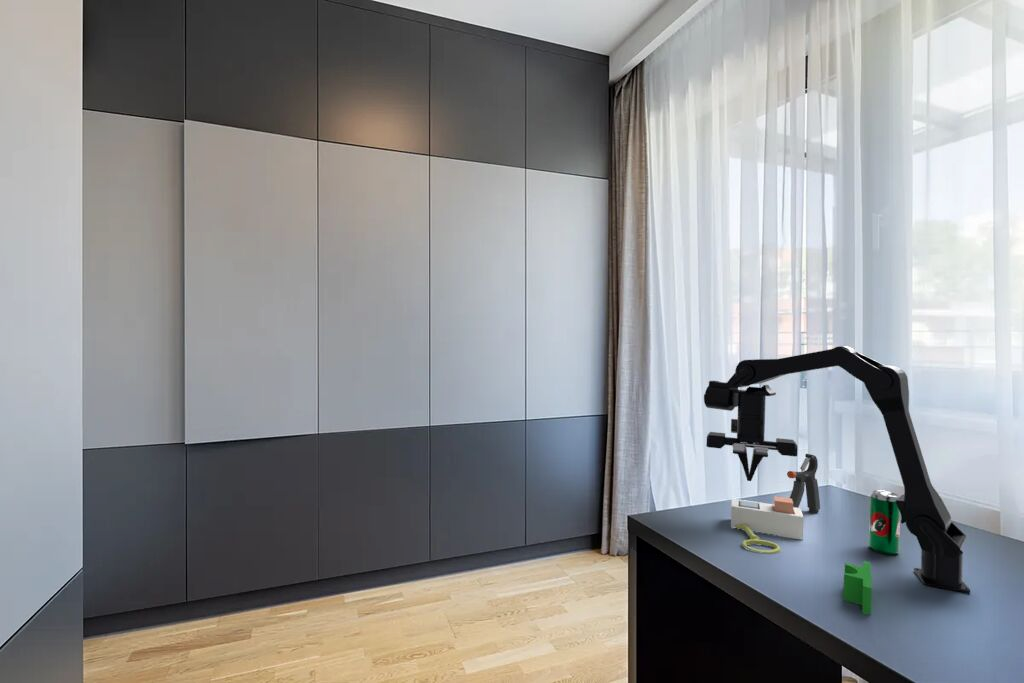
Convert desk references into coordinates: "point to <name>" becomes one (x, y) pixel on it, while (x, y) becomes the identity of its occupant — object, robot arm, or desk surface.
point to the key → (757, 540)
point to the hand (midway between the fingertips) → (749, 480)
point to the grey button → (749, 504)
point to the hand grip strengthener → (806, 484)
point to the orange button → (783, 505)
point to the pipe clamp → (858, 585)
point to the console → (768, 519)
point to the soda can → (884, 522)
